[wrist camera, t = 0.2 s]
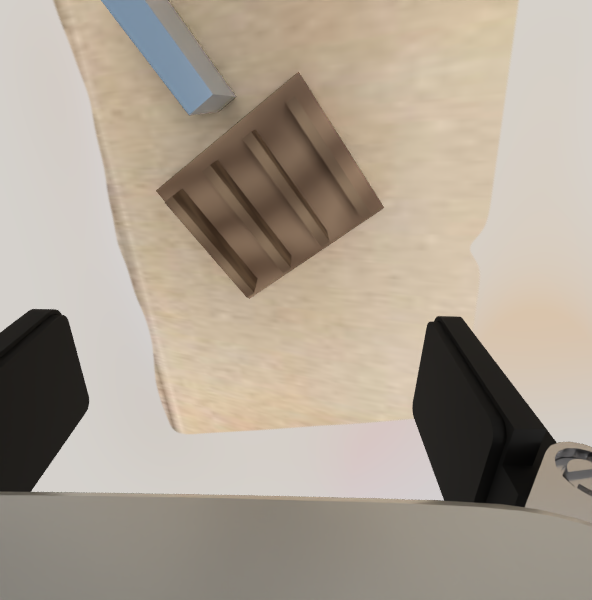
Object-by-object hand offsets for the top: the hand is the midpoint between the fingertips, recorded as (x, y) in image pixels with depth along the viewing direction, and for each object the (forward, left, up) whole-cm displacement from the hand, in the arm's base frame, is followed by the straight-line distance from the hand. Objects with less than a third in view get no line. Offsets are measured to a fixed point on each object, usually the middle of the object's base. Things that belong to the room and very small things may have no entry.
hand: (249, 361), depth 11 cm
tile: (-13, -1, -36) cm, 39 cm away
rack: (+2, -3, -36) cm, 36 cm away
